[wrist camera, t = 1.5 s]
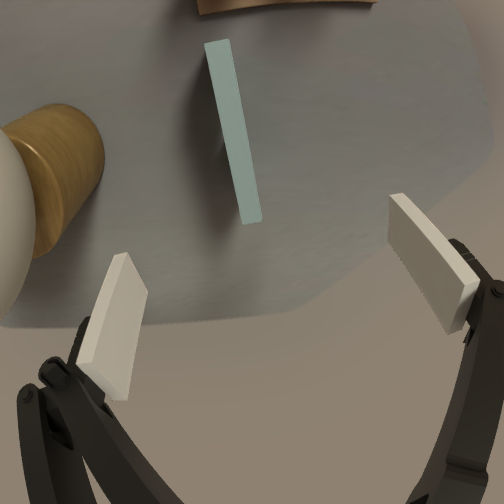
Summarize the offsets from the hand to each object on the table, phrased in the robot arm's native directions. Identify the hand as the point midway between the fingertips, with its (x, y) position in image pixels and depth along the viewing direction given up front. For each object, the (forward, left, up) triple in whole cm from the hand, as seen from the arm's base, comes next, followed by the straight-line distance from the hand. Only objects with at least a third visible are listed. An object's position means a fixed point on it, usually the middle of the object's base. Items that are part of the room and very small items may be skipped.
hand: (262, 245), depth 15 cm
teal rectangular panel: (0, +3, -17) cm, 17 cm away
